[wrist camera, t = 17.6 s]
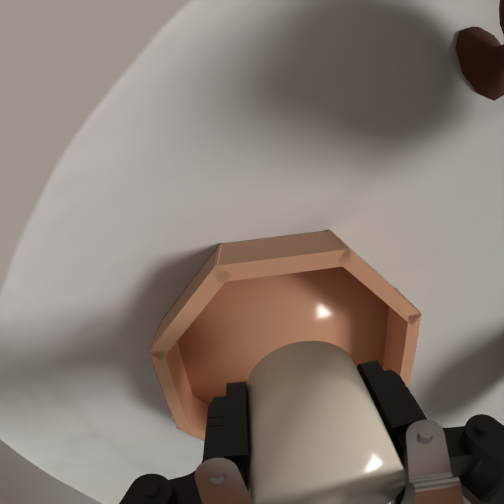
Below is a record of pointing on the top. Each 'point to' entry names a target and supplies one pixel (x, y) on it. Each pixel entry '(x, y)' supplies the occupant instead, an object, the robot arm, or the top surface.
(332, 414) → the pebble
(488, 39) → the ice cream bowl
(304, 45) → the top surface
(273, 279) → the terracotta bowl
